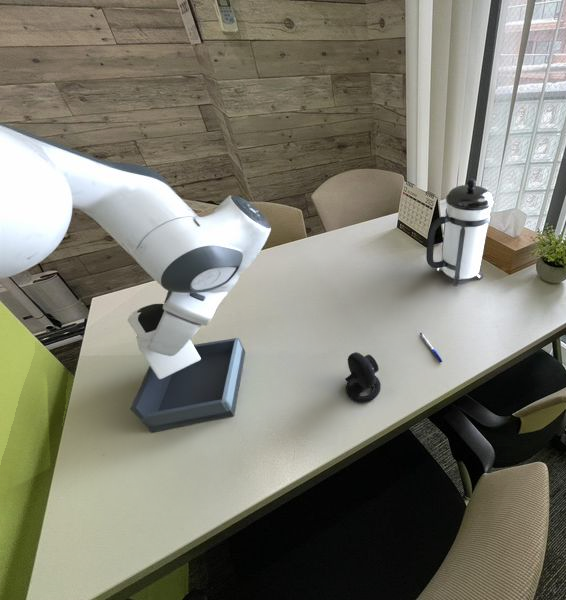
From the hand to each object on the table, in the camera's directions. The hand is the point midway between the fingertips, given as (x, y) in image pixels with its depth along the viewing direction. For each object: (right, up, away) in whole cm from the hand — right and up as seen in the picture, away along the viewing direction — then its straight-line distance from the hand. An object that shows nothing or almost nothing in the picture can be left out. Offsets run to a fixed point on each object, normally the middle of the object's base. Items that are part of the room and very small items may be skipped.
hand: (164, 331), depth 59 cm
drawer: (+1, -13, +11) cm, 17 cm away
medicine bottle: (0, -7, +3) cm, 7 cm away
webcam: (+35, -14, +11) cm, 39 cm away
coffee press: (+61, +13, +44) cm, 77 cm away
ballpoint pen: (+50, -6, +20) cm, 55 cm away
